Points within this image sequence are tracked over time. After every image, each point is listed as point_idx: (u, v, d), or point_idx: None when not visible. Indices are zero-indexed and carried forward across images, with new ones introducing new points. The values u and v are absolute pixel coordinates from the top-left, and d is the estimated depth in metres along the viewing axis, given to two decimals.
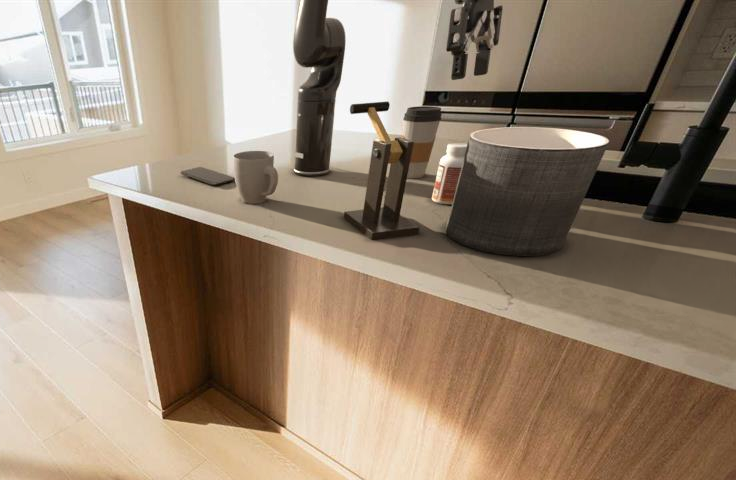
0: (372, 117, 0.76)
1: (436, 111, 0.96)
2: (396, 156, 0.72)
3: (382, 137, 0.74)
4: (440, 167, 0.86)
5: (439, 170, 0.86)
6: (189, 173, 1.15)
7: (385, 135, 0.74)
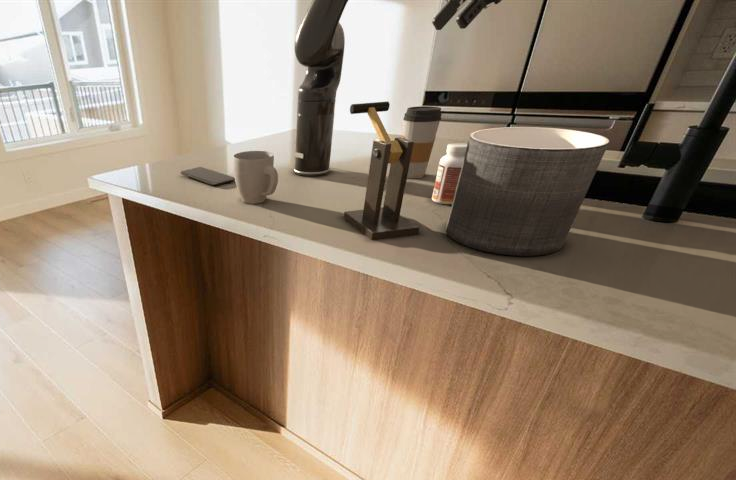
0: (372, 117, 0.76)
1: (436, 111, 0.96)
2: (396, 156, 0.72)
3: (382, 137, 0.74)
4: (440, 167, 0.86)
5: (439, 170, 0.86)
6: (189, 173, 1.15)
7: (385, 135, 0.74)
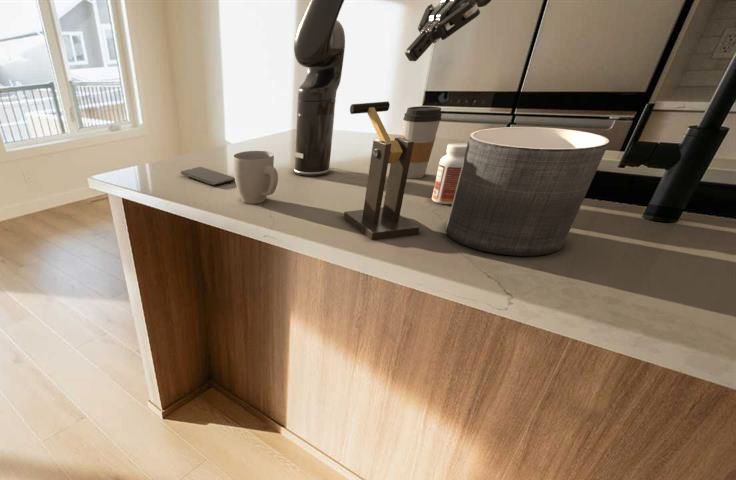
0: (372, 117, 0.76)
1: (436, 111, 0.96)
2: (396, 156, 0.72)
3: (382, 137, 0.74)
4: (440, 167, 0.86)
5: (439, 170, 0.86)
6: (189, 173, 1.15)
7: (385, 135, 0.74)
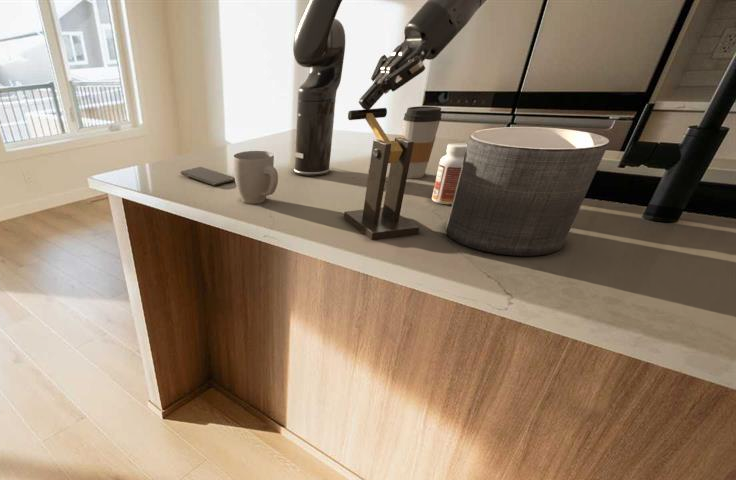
0: (371, 122, 0.77)
1: (436, 111, 0.96)
2: (396, 155, 0.72)
3: (381, 139, 0.74)
4: (440, 167, 0.86)
5: (439, 170, 0.86)
6: (189, 173, 1.15)
7: (384, 137, 0.74)
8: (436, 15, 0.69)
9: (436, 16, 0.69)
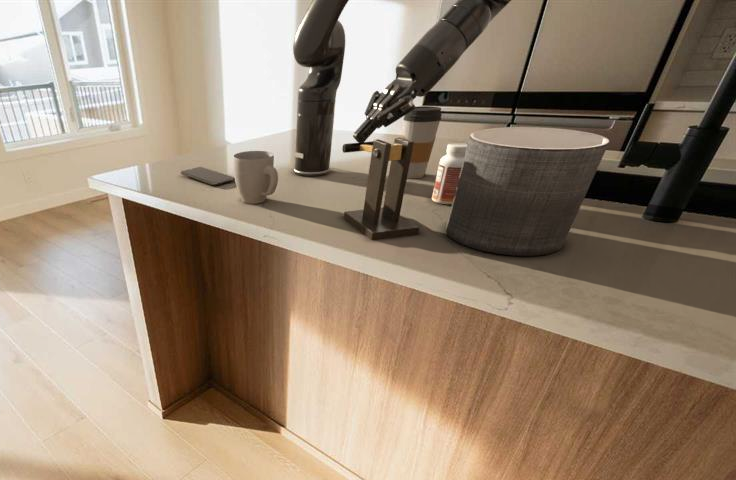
0: (365, 146, 0.80)
1: (436, 111, 0.96)
2: (397, 151, 0.71)
3: None
4: (440, 167, 0.86)
5: (439, 170, 0.86)
6: (189, 173, 1.15)
7: None
8: (425, 57, 0.73)
9: (425, 58, 0.73)
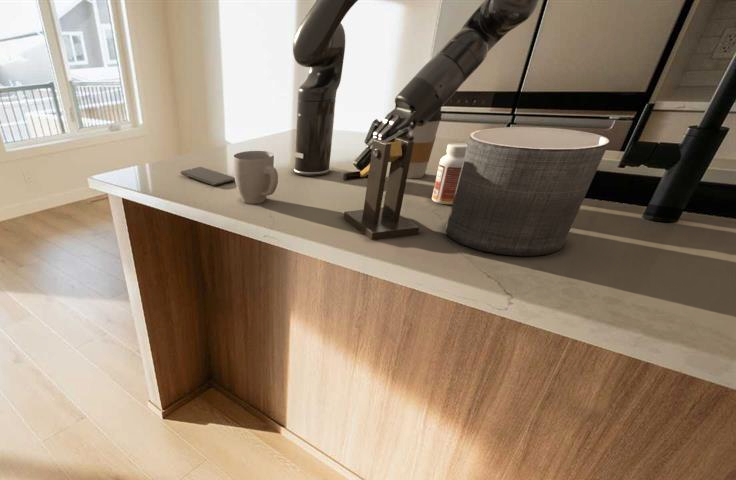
0: (365, 168, 0.81)
1: None
2: (397, 147, 0.71)
3: None
4: (440, 167, 0.86)
5: (439, 170, 0.86)
6: (189, 173, 1.15)
7: None
8: (424, 90, 0.75)
9: (424, 91, 0.75)
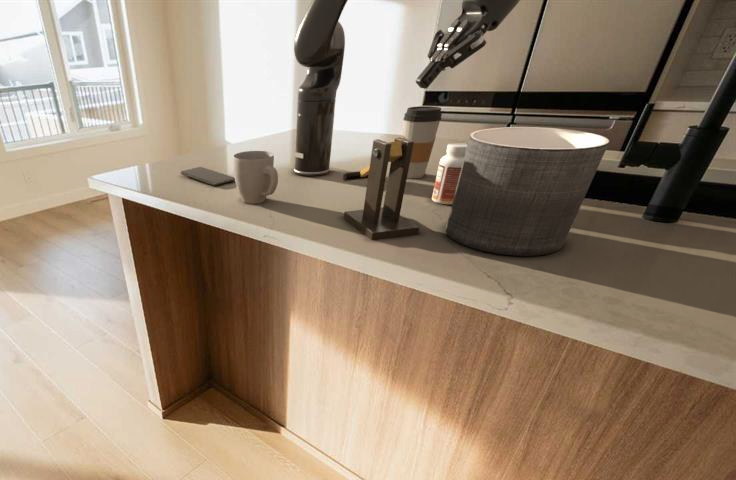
0: (365, 168, 0.81)
1: (436, 111, 0.96)
2: (397, 147, 0.71)
3: None
4: (440, 167, 0.86)
5: (439, 170, 0.86)
6: (189, 173, 1.15)
7: None
8: None
9: None
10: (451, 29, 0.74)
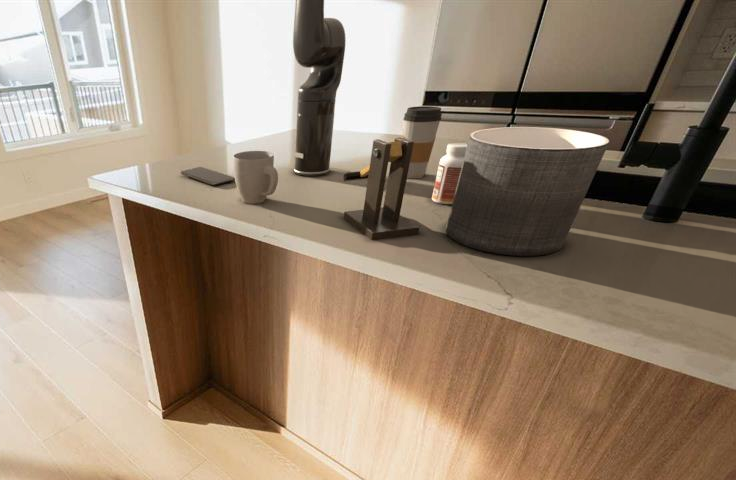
0: (365, 168, 0.81)
1: (436, 111, 0.96)
2: (397, 147, 0.71)
3: None
4: (440, 167, 0.86)
5: (439, 170, 0.86)
6: (189, 173, 1.15)
7: None
8: None
9: None
10: None
